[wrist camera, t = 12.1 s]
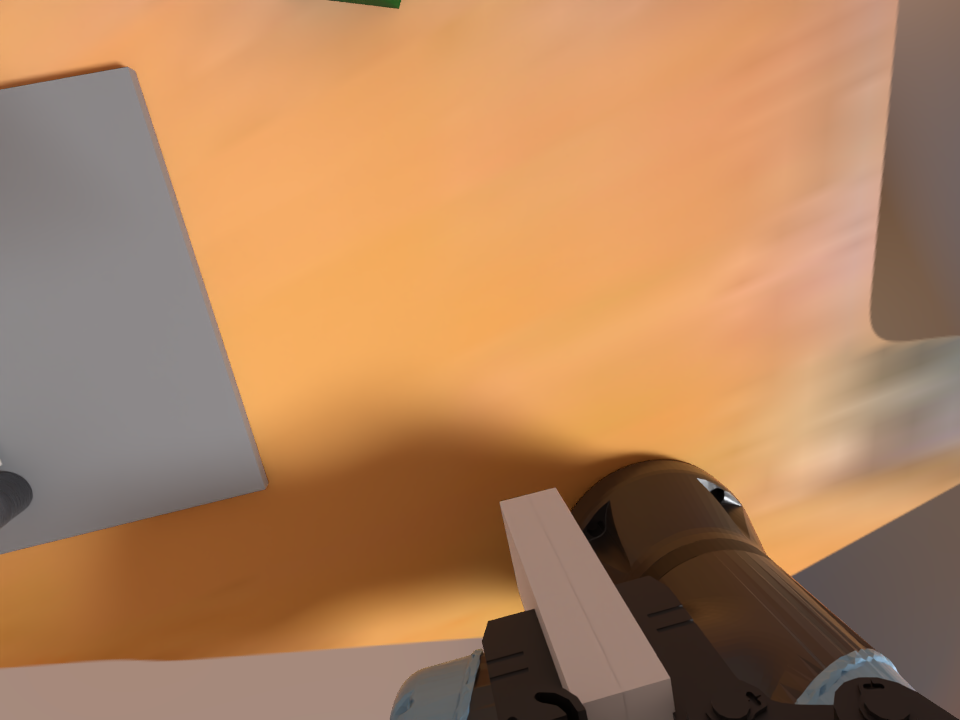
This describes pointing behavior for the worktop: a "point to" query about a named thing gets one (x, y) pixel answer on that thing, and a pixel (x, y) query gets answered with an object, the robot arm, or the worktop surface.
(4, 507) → the hinge post
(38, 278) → the board
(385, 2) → the milk carton
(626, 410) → the worktop surface
